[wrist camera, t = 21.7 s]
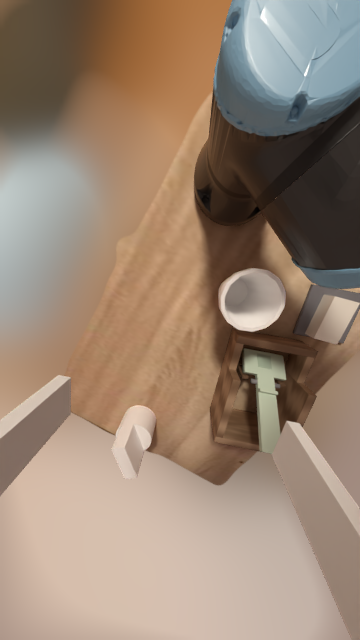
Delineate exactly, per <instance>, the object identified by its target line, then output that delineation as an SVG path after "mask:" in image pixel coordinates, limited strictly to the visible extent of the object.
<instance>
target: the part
mask: <svg viewBox="0 0 360 640" xmlns="http://www.w3.org/2000/svg"><path fill="white" fill-rule="evenodd" d="M359 304H360V303H358V302H354V301H351V300H347V299H343V298H340V297H336V296H330V295H325V294H324V295H323V297H322V299H321V301H320V303H319V305H318V307H317V310H316V312H315V314H314V316H313V318H312V320H311V322H310V324H309V326H308V328H307V330H306V332H305V334H307V335H308V336H310V337H312V338H314V339H318V340H321V341H325V342H329V343H333V344H336V345H337V344H338V342H339V340H340V339H341V337H342V335H343V333H344V331H345V329H346V328H347V326H348V324H349V322H350V320H351V319H352V317H353V315H354V313H355V311H356V310H357V308H358V306H359Z"/></svg>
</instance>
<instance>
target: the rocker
mask: <svg viewBox="0 0 360 640" xmlns="http://www.w3.org/2000/svg"><path fill="white" fill-rule="evenodd" d="M242 353H243V373H245V374H251V375H255V379H250V383H253V384H256V399H257V416H258V433H259V450H260V452H265V453H270V454H272V453H273V451H274V449H275V446H276V444H277V442H278V439H279V437H280V435H281V434H280V426H279V417H278V408H277V400H276V395H278V391H275V388H279V389H280V384H276V383H275V382H274V379H276V380H281V381H285V380H286V373H285V366H284V360H283V356H282V355H277V354H271V353H266V352H261V351H256V350H251V349H246V348H244V349H243V350H242Z"/></svg>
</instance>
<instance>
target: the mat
mask: <svg viewBox="0 0 360 640" xmlns="http://www.w3.org/2000/svg"><path fill="white" fill-rule="evenodd" d="M324 294H325V295H330V296H336V297H340V298H343V299H347V300H351V301H354V302H358V303H360V293H355V292H350V291H344V290H339V289H332V288H325V287H322V286H318V285H312V284H311V287H310V289H309V292H308V294H307V297H306V300H305V302H304V305H303V308H302V310H301V313H300V315H299V318H298V321H297V323H296V326H295V329H294V331H293V333H294V334H298V335H303V336H308V335H307V334H305V332H306V330H307V328H308V326H309V324H310V322H311V320H312V318H313V316H314V314H315V312H316V310H317V307H318V305H319V303H320V301H321V299H322V297H323V295H324ZM359 309H360V304H359V306H358V308H357V310H356V311H355V313H354V315H353V317H352V319H351V320H350V322H349V324H348V326H347V328H346V329H345V331H344V333H343V335H342V337H341V339H340V340H339V343H344V341H345V339H346V337H347V335H348V332H349V330H350V328H351V326H352V324H353V322H354V320H355V318H356V315H357V313H358V311H359ZM308 337H310V336H308Z"/></svg>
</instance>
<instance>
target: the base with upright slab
mask: <svg viewBox="0 0 360 640" xmlns="http://www.w3.org/2000/svg"><path fill="white" fill-rule="evenodd" d="M155 424H156V416H155V414H154V413H153V412H152V410H150V409H149V408H147V407H145V406H140V405H137V406H132V407H130V408H129V409H128V410H127V411H126V413H125V415H124V417H123V419H122V421H121V423H120V425H119V427H118V430H117V432H116V440H115V443H114V445H113V447H112V452H113V454H114V456H115V458H116V461H117V463H118V465H119V468H120V470H121V472H122V474H123V477H124V478H125V479H133V478H136V477H137V476H138V472H139V468H140V464H141V461H142V457H143V453H144V450H146V449H147V448H148V447H149V446H150V444H151V441H152V437H153V433H154V429H155Z"/></svg>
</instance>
